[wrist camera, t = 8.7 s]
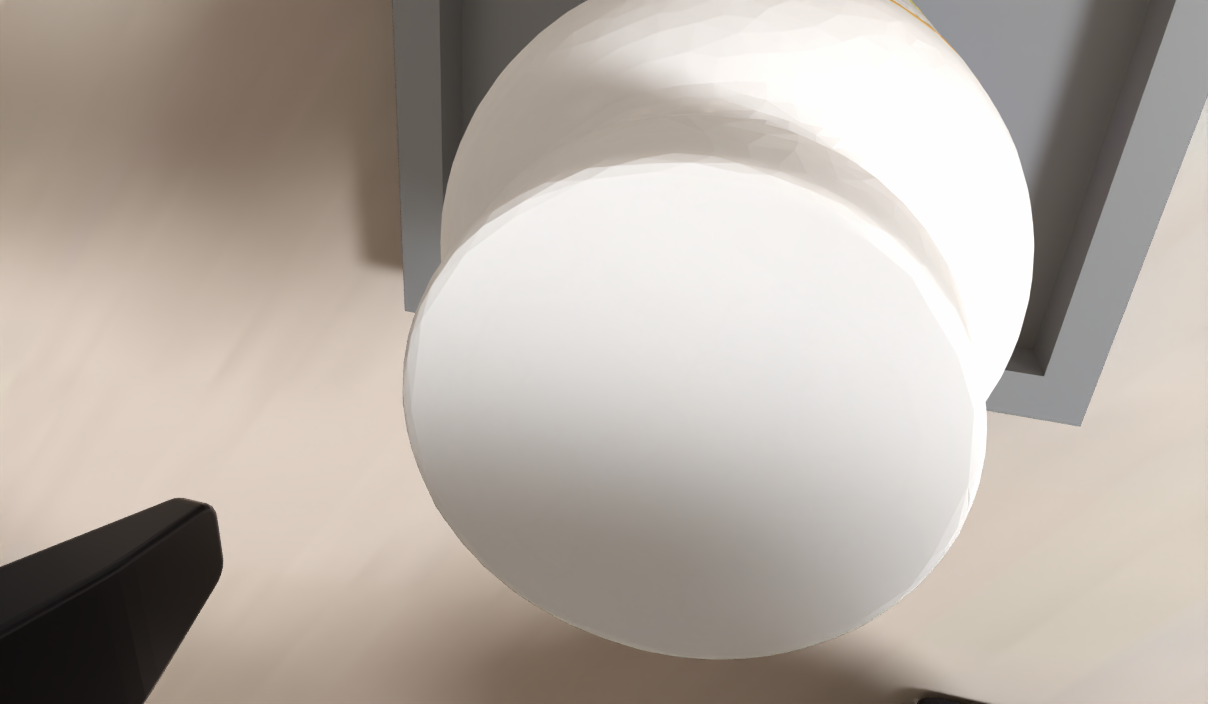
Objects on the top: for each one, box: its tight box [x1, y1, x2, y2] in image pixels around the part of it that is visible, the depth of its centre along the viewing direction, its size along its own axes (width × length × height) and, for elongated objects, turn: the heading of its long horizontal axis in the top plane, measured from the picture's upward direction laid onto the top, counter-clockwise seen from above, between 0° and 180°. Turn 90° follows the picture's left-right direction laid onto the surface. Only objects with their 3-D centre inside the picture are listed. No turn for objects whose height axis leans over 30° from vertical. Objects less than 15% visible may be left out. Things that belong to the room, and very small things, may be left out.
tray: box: [392, 0, 1208, 426], centre depth 18 cm, size 15×11×2 cm
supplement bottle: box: [403, 0, 1034, 659], centre depth 13 cm, size 7×7×13 cm
